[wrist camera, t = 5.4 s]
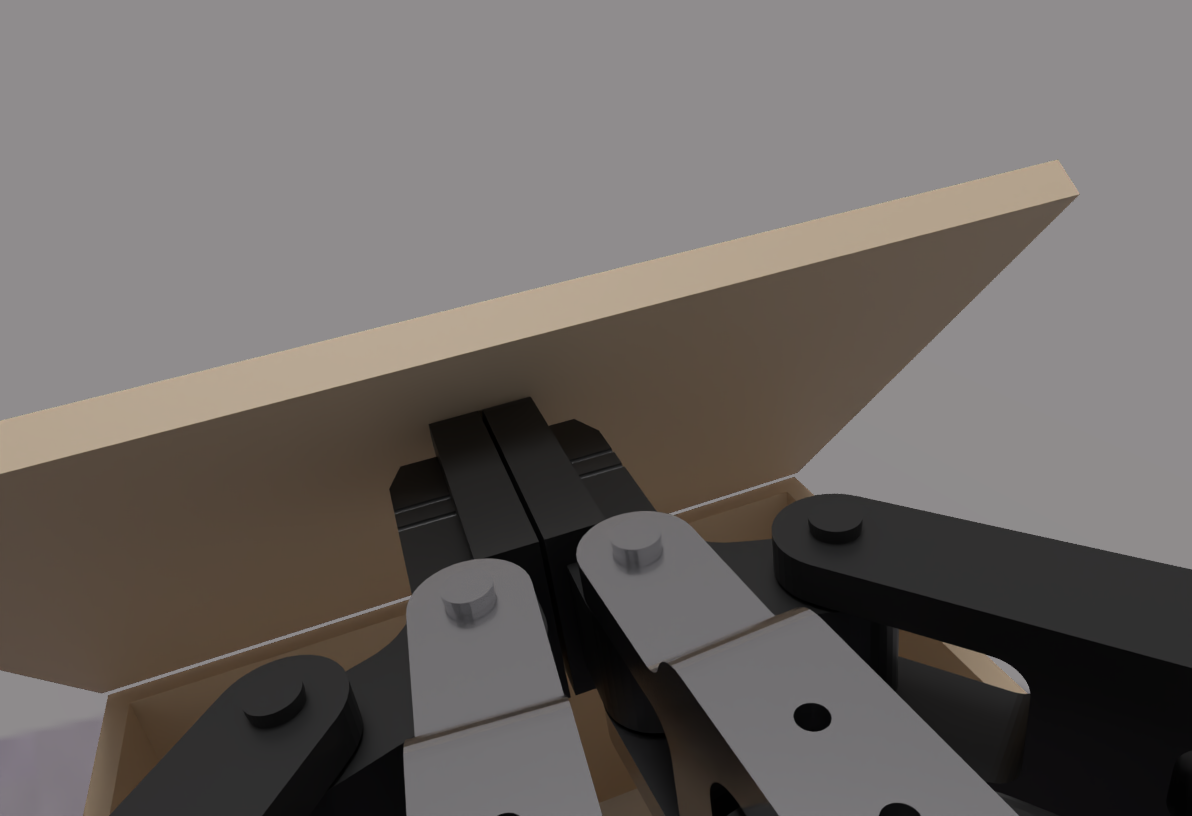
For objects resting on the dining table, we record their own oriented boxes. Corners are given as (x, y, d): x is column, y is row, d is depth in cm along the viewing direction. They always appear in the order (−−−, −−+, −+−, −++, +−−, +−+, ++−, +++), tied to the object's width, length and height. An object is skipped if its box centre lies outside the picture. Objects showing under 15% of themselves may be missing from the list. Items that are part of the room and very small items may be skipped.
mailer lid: (-403, 578, 9) (-399, 509, 9) (102, 693, 20) (97, 662, 20) (1079, 194, 12) (1054, 153, 13) (797, 472, 24) (786, 448, 24)
